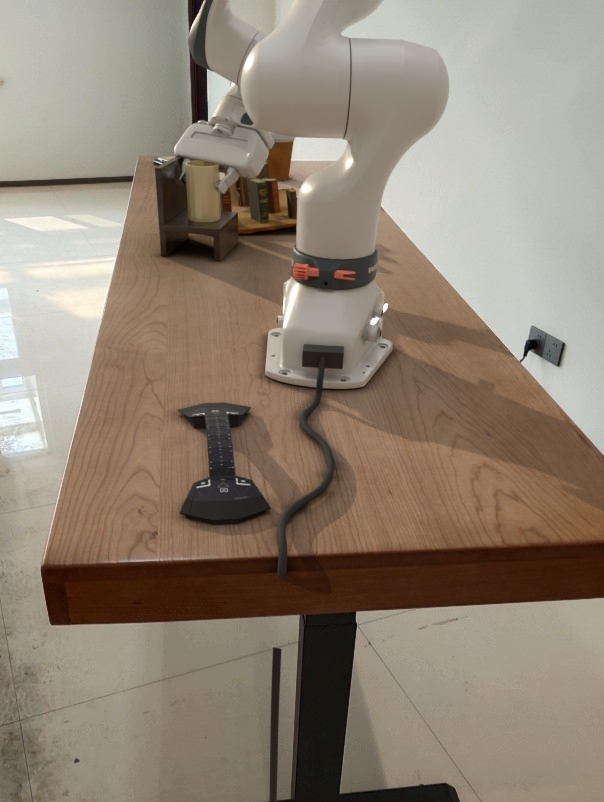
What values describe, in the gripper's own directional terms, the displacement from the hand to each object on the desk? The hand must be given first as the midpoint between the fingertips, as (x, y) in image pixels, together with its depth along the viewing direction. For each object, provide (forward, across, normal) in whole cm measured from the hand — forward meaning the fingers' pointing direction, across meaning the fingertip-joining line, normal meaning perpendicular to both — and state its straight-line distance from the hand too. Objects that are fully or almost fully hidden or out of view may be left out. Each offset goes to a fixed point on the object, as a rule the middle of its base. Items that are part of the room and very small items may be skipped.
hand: (201, 187), depth 142 cm
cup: (+4, 0, +5) cm, 6 cm away
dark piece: (+49, +58, -32) cm, 82 cm away
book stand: (-11, -10, +28) cm, 31 cm away
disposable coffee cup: (-38, -34, +55) cm, 75 cm away
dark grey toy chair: (+8, -1, +9) cm, 12 cm away
